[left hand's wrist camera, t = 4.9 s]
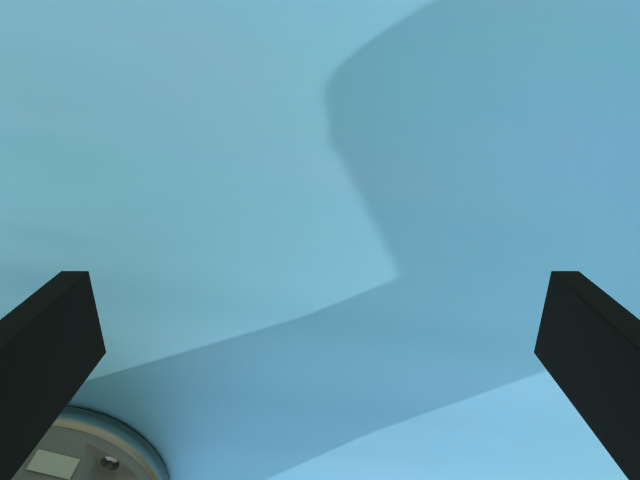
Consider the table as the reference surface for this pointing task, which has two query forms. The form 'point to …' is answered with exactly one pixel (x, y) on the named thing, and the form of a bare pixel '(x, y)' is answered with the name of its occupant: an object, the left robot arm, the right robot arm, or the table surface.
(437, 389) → the table surface
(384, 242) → the table surface
